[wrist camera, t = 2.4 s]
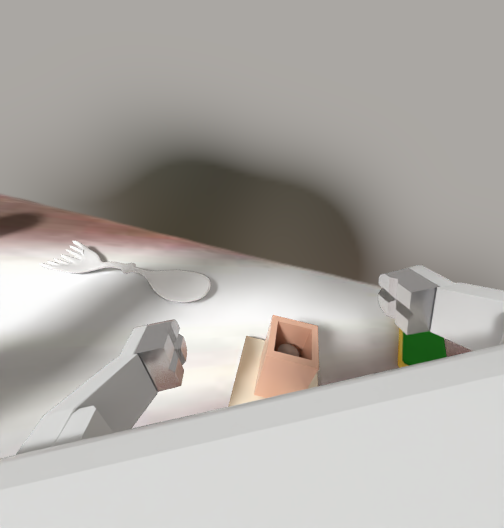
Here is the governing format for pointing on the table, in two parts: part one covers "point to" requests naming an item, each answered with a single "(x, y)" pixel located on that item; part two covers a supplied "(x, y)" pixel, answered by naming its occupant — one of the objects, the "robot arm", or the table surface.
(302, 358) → the sleeve
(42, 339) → the table surface
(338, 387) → the robot arm
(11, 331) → the table surface
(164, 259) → the table surface
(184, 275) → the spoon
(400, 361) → the dish sponge
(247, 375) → the stand
